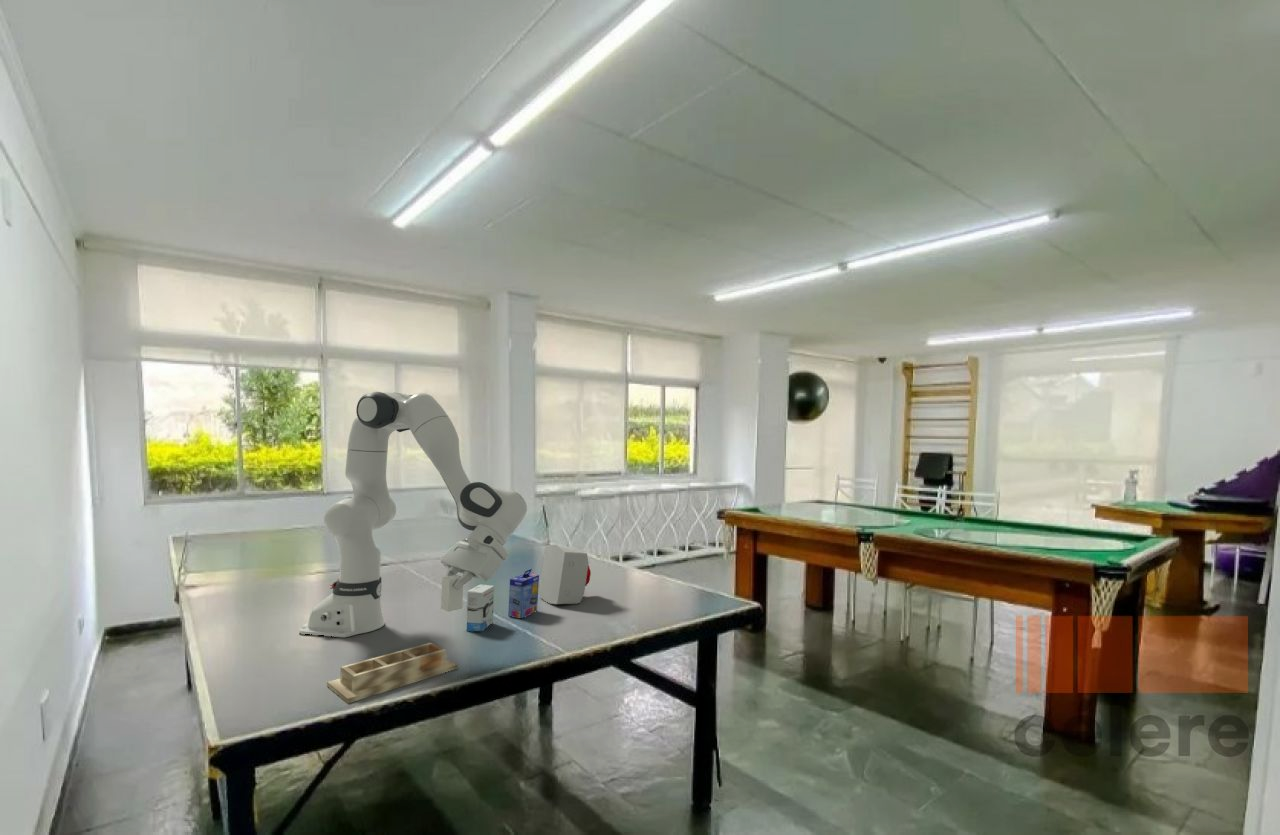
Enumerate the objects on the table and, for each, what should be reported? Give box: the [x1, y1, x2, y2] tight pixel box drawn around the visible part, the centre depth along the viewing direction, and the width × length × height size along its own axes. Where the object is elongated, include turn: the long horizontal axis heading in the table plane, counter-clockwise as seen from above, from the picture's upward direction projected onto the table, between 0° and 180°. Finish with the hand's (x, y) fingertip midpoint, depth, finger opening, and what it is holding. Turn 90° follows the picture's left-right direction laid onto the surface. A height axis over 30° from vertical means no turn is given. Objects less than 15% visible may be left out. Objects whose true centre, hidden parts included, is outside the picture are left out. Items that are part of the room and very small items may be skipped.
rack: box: [326, 642, 458, 704], centre depth 137 cm, size 26×12×4 cm, turn 138°
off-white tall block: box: [440, 574, 464, 613], centre depth 149 cm, size 4×4×8 cm
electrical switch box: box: [538, 544, 591, 605], centre depth 206 cm, size 15×15×20 cm
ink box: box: [466, 584, 495, 632], centre depth 174 cm, size 8×5×12 cm, turn 168°
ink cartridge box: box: [507, 568, 540, 619], centre depth 188 cm, size 10×6×14 cm, turn 158°
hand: (450, 586), depth 148 cm, fingers closed on off-white tall block, 3 cm apart
